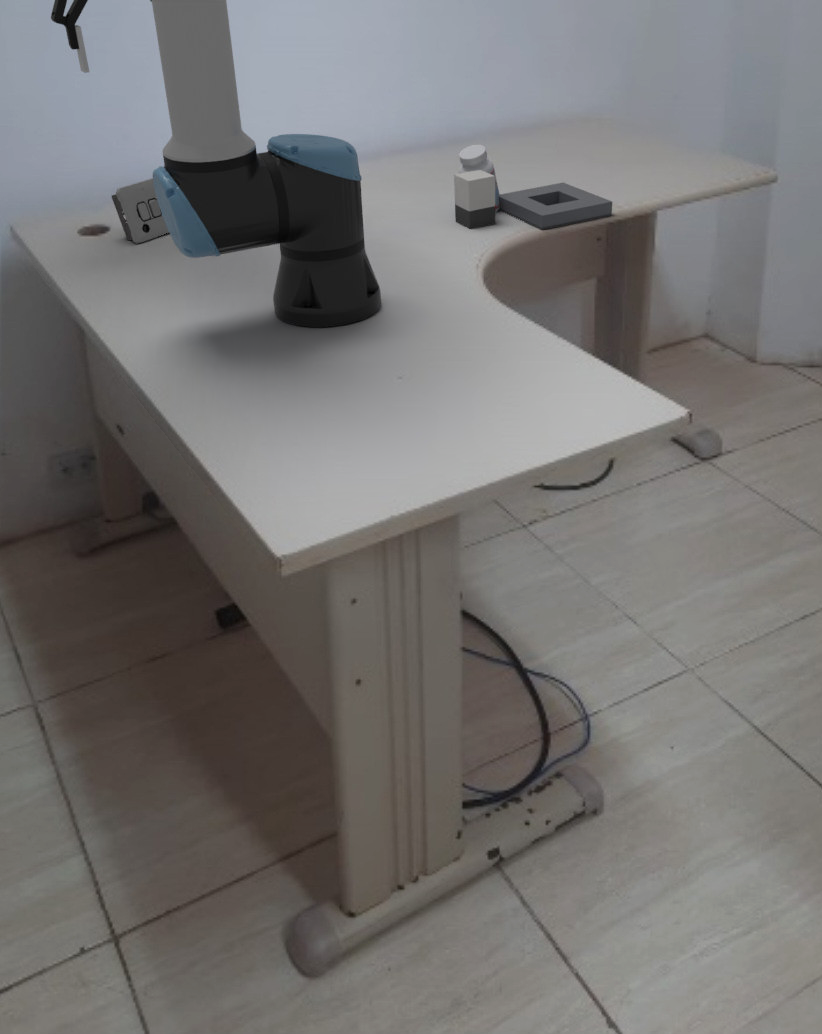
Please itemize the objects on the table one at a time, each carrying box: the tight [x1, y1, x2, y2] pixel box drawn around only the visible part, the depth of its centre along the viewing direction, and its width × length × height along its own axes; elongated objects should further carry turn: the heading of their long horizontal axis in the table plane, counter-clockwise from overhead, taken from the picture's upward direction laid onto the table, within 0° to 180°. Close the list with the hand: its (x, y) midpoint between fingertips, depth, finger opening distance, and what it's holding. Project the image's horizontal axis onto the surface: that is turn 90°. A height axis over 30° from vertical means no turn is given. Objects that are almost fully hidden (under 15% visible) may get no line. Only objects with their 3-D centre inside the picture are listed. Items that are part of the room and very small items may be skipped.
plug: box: [453, 170, 496, 230], centre depth 179 cm, size 5×5×8 cm
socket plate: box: [498, 182, 613, 231], centre depth 183 cm, size 15×14×2 cm
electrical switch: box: [111, 177, 170, 244], centre depth 181 cm, size 9×5×9 cm, turn 141°
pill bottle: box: [458, 144, 500, 213], centre depth 184 cm, size 6×6×11 cm
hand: (128, 66), depth 168 cm, fingers open, 13 cm apart
